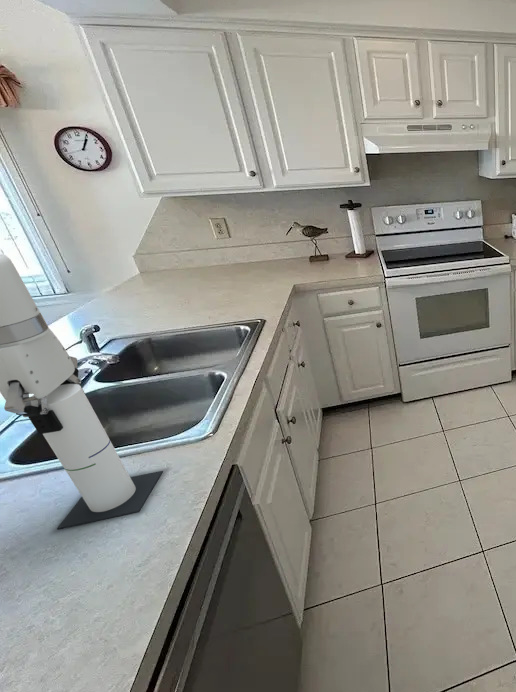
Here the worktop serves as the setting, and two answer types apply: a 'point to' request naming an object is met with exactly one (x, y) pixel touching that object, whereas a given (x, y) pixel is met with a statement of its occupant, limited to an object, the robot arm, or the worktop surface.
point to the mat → (132, 505)
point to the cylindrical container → (87, 450)
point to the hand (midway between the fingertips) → (65, 417)
